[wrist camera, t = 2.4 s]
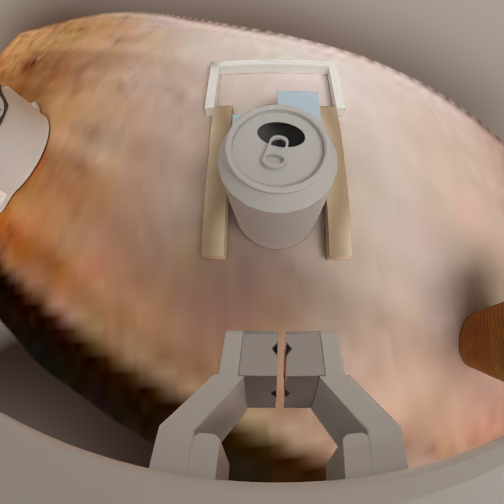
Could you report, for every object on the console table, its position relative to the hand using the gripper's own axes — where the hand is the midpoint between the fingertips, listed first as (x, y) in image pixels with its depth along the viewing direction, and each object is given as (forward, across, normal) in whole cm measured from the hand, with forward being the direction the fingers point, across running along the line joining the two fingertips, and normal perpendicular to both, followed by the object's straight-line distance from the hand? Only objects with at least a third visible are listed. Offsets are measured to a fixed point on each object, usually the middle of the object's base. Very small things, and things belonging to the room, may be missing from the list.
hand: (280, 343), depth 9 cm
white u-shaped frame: (+30, 0, -6) cm, 31 cm away
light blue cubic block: (+26, -2, -2) cm, 27 cm away
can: (+20, 0, +5) cm, 20 cm away
